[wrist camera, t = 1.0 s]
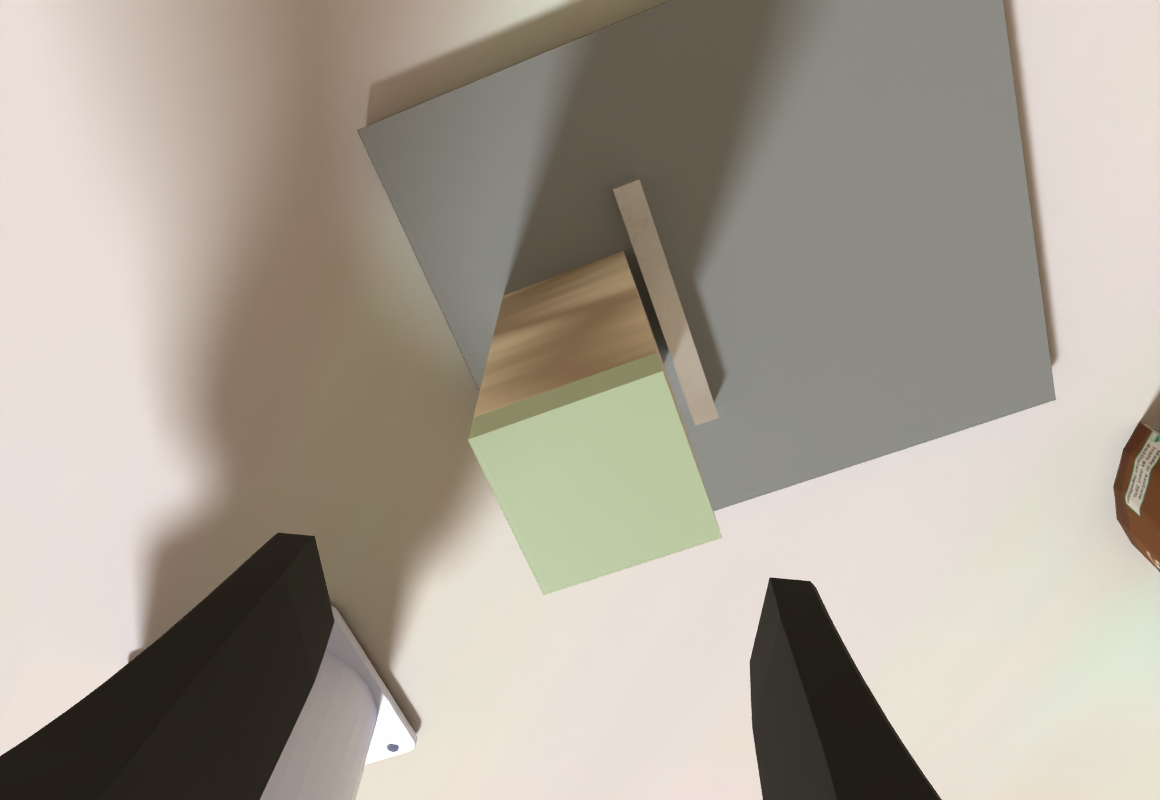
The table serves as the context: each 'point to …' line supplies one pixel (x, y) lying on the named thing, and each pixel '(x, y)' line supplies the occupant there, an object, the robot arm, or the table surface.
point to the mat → (756, 217)
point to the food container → (1140, 491)
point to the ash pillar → (586, 430)
